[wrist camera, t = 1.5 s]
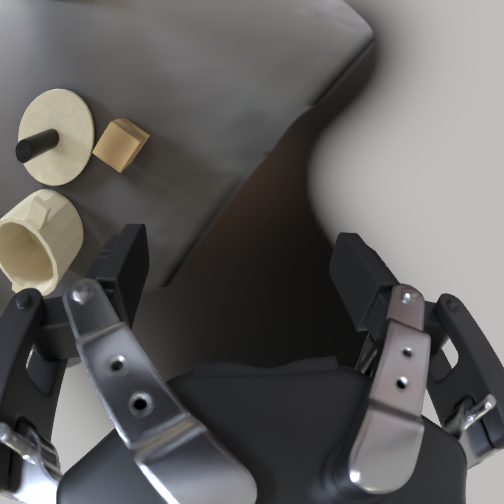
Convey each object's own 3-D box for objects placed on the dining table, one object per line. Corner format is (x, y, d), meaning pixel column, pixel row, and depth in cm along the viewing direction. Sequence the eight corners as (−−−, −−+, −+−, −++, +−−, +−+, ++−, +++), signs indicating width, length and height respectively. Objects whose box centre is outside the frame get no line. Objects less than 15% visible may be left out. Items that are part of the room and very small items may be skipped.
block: (106, 144, 27) (91, 152, 23) (124, 116, 25) (111, 121, 22) (131, 163, 28) (119, 173, 25) (150, 135, 27) (140, 142, 24)
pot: (15, 244, 31) (-12, 275, 24) (42, 157, 26) (3, 180, 19) (65, 281, 36) (45, 318, 29) (103, 203, 31) (75, 236, 24)
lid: (12, 154, 24) (-20, 171, 18) (48, 73, 20) (13, 75, 14) (70, 199, 29) (44, 225, 24) (115, 119, 25) (88, 128, 19)
